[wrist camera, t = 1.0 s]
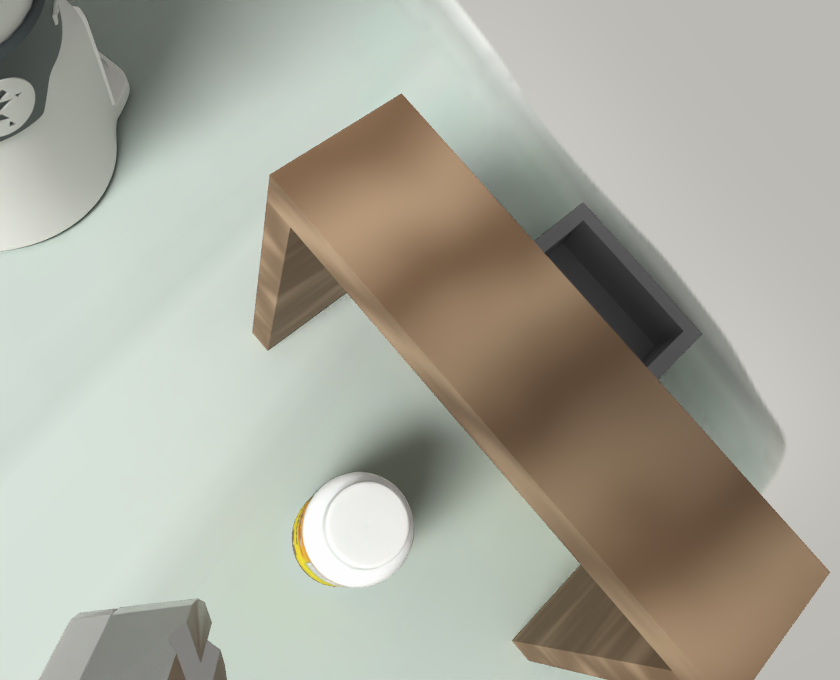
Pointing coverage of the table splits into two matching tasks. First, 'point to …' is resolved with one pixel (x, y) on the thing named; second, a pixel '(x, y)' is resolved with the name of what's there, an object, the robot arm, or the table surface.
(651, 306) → the box
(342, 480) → the supplement bottle
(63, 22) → the robot arm
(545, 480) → the tunnel
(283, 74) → the table surface
